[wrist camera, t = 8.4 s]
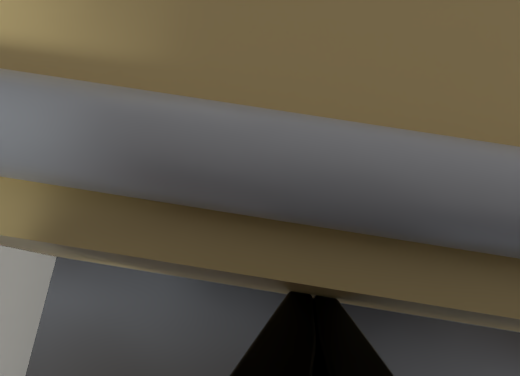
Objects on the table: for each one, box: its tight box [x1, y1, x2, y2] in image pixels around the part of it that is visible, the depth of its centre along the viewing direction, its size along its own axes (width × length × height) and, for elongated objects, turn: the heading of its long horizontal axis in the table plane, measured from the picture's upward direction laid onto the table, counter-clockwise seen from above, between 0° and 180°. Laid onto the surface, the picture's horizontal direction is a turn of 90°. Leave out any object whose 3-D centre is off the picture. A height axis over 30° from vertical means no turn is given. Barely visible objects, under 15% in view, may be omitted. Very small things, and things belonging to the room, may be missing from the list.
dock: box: [26, 257, 520, 376], centre depth 13 cm, size 29×19×7 cm, turn 171°
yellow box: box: [0, 0, 520, 333], centre depth 10 cm, size 10×12×10 cm
